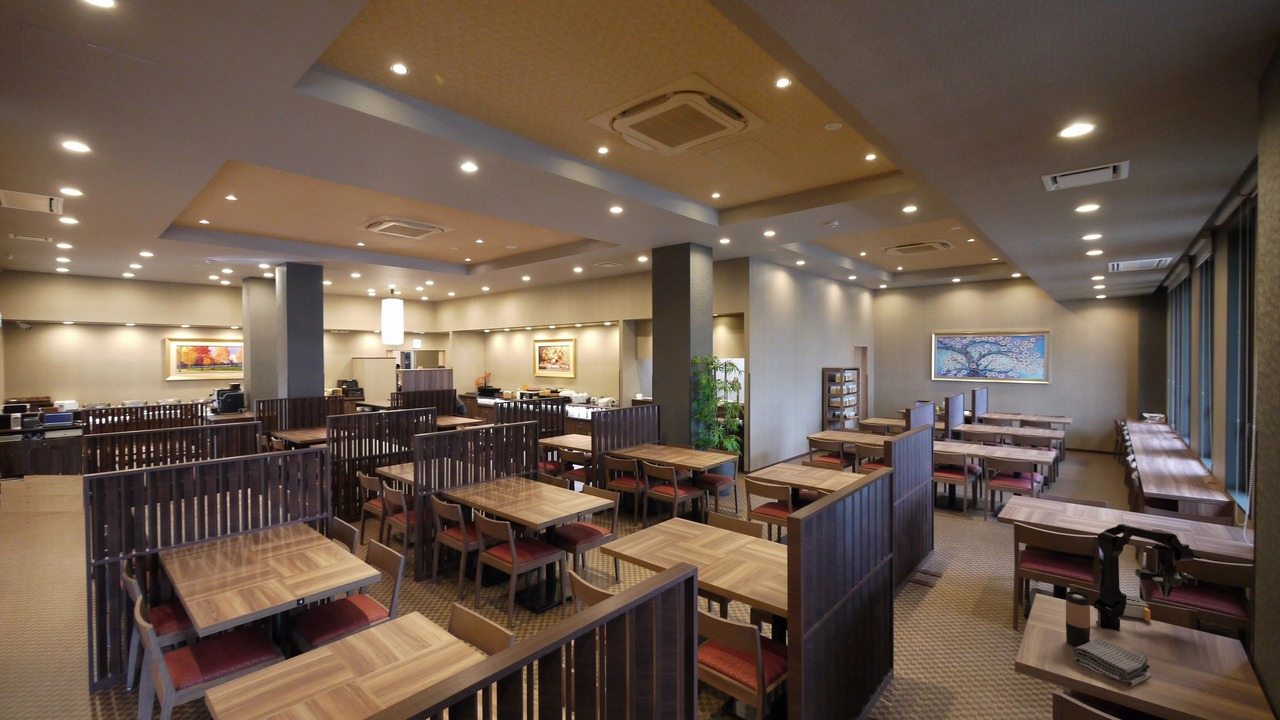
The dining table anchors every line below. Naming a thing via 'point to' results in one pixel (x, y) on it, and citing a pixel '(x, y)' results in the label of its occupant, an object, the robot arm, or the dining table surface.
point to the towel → (1113, 661)
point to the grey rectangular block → (1137, 612)
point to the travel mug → (1077, 618)
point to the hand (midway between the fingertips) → (1165, 596)
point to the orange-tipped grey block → (1134, 602)
